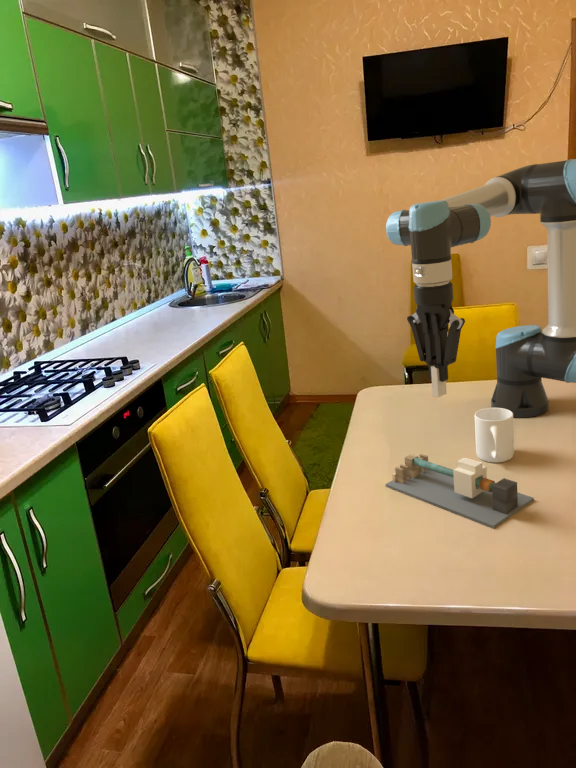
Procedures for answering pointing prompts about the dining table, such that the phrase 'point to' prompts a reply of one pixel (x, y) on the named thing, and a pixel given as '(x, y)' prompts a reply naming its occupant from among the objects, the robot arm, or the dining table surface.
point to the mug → (494, 434)
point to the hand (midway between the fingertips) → (439, 394)
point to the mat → (455, 498)
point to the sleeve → (468, 477)
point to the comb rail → (501, 491)
